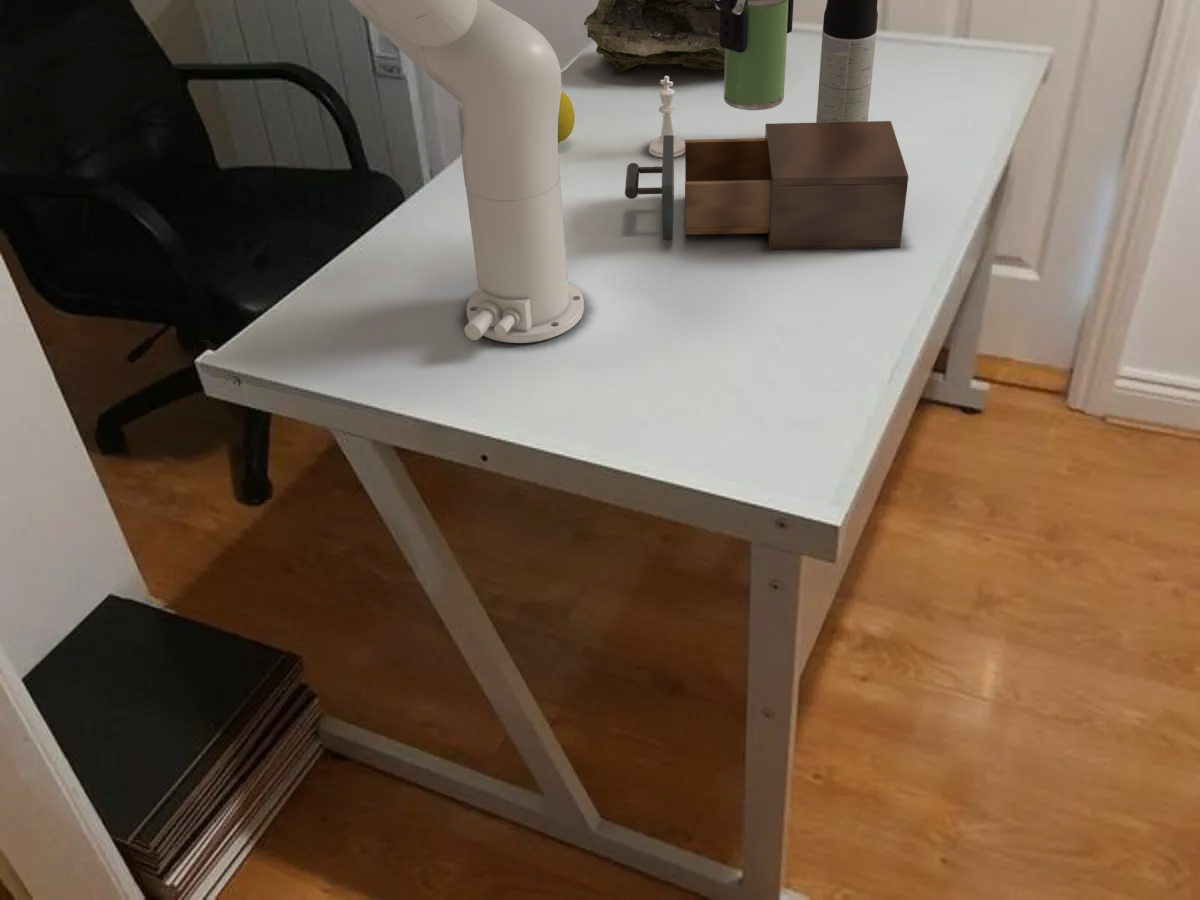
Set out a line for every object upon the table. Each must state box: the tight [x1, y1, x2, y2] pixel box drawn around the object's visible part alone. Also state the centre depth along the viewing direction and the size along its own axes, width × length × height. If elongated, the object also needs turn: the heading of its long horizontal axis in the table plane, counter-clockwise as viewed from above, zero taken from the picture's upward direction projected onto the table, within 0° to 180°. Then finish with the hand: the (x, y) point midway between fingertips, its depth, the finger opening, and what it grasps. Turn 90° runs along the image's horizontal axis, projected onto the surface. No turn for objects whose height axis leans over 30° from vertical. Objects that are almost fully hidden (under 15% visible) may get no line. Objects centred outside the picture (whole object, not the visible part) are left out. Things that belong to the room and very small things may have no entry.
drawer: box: [624, 135, 772, 242], centre depth 143 cm, size 18×14×7 cm
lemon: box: [558, 90, 576, 145], centre depth 162 cm, size 6×6×8 cm
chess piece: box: [648, 75, 685, 159], centre depth 159 cm, size 5×5×10 cm
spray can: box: [815, 0, 879, 123], centre depth 155 cm, size 7×7×20 cm
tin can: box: [723, 0, 789, 111], centre depth 128 cm, size 6×6×12 cm
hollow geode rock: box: [583, 0, 725, 72], centre depth 182 cm, size 28×13×15 cm
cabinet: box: [764, 120, 909, 250], centre depth 142 cm, size 15×15×9 cm
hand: (756, 38), depth 127 cm, fingers closed on tin can, 6 cm apart
